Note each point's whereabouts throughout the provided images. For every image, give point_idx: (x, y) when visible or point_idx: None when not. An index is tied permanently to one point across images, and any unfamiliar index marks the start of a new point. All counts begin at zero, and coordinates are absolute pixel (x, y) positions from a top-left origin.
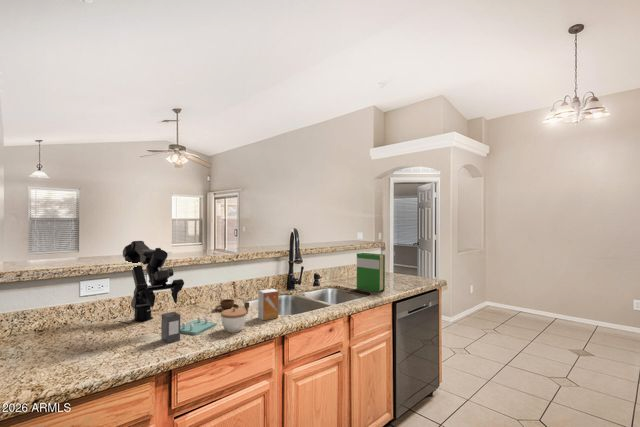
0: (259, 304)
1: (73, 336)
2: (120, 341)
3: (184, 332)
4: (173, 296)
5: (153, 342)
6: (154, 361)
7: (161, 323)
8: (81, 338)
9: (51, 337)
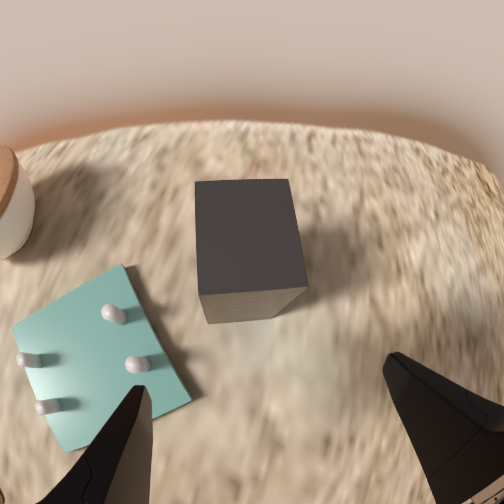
0: None
1: None
2: None
3: (153, 330)
4: (140, 496)
5: (307, 299)
6: (321, 139)
7: (289, 302)
8: None
9: None
